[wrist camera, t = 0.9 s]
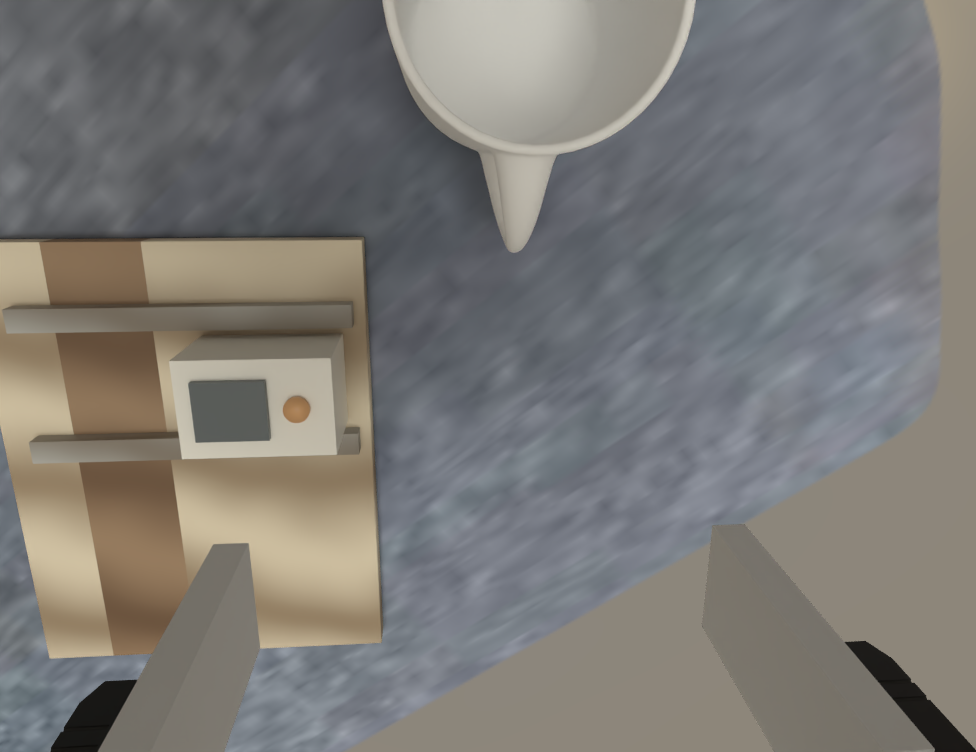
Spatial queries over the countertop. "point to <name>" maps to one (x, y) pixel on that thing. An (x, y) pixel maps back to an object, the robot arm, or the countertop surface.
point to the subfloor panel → (155, 439)
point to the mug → (533, 80)
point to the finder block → (260, 395)
